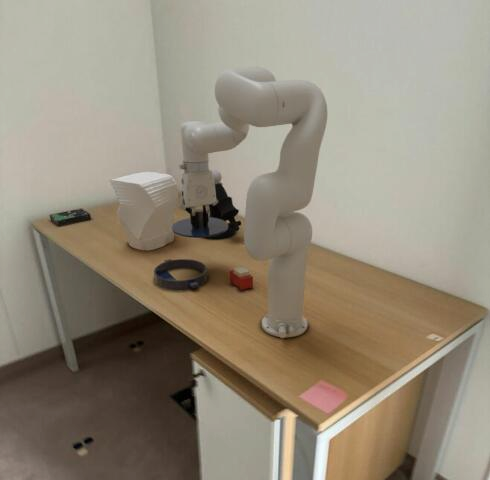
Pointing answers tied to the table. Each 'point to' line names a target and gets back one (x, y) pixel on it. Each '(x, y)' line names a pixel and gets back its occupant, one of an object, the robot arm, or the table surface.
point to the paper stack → (146, 208)
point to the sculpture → (223, 209)
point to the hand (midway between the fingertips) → (199, 225)
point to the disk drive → (70, 217)
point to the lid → (200, 226)
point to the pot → (170, 282)
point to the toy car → (241, 278)
